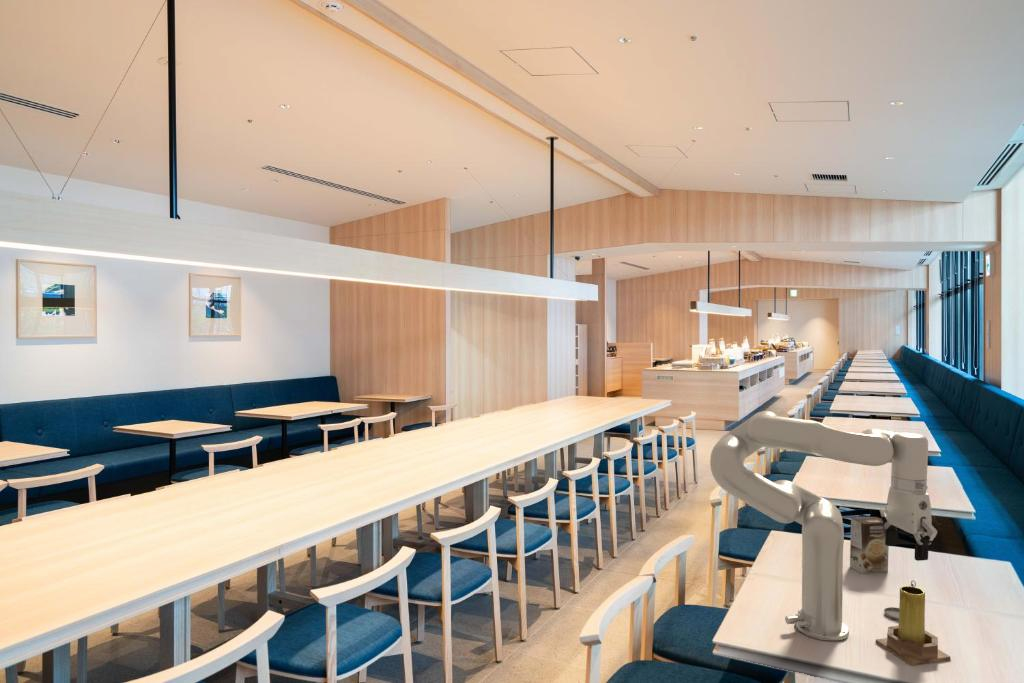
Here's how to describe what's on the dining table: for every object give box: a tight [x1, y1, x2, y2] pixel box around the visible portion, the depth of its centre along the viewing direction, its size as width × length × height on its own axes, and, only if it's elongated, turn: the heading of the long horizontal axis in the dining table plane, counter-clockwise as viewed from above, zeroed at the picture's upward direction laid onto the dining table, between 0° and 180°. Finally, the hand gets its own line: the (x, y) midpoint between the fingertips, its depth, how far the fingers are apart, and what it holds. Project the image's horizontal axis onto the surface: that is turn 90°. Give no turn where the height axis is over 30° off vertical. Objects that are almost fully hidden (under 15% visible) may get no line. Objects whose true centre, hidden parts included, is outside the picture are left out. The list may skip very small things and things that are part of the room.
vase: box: [898, 585, 926, 645], centre depth 160 cm, size 6×6×14 cm
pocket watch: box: [883, 580, 917, 621], centre depth 178 cm, size 8×8×10 cm
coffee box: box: [849, 516, 890, 574], centre depth 210 cm, size 9×6×16 cm
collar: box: [875, 624, 951, 667], centre depth 160 cm, size 11×11×4 cm
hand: (905, 552), depth 162 cm, fingers open, 9 cm apart
